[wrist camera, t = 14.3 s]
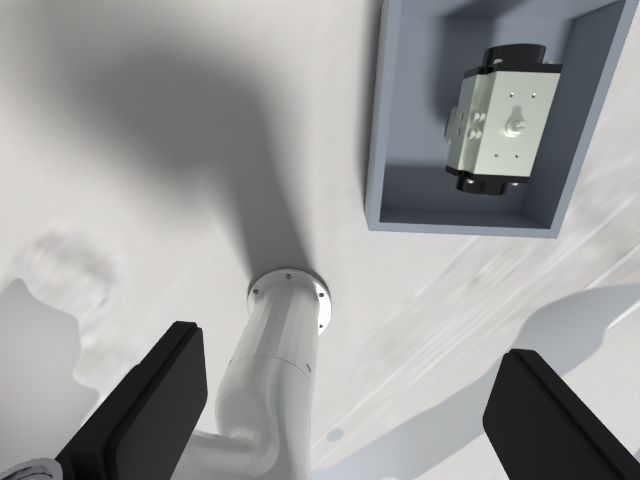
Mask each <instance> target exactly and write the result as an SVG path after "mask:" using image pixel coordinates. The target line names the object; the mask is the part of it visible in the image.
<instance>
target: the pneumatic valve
mask: <svg viewBox="0 0 640 480" xmlns="http://www.w3.org/2000/svg"><path fill="white" fill-rule="evenodd" d="M545 51H546V47H545V46H544V45H540V44H530V43H520V44H507V45H500V46H495V47H491V48H489V49H487V50H486V51H485V52H484V57H483V61H482V66H478V67H476V68H473V69H471V70H468V71H465V72H464V77H463V82H462V87H461V92H460V98H459V103H458V106H453V108H452V109H451V110H450V116H449V121H448V126H447V132H446V137H445V139H446V140H447V144H450V149H449V154H448V159H447V164H446V169H445V171H446V172H448V173H450V174H452V175H454V176H458V179H457V183H456V189H457V190H459V191H462V192H465V193H470V194H475V195H483V196H503V195H505V194H506V191H507V188H508V184H509V183H511V184H512V185H518V183H526V184H527V183H528V180H529V177H530V173H531V170H532V167H533V164H534V160H535V157H536V154H537V150H538V147H539V144H540V140H541V137H542V134H543V130H544V127H545V124H546V121H547V117H548V114H549V111H550V107H551V104H552V101H553V97H554V94H555V91H556V88H557V84H558V81H559V78H560V74H561V71H562V68H563V64H553V63H554V61H546V62H545V64H542V62H543V58H544V55H545Z"/></svg>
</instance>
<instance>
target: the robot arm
mask: <svg viewBox="0 0 640 480" xmlns="http://www.w3.org/2000/svg"><path fill="white" fill-rule="evenodd" d="M288 274H290V275H288ZM321 292H322V293H321ZM247 306H248V312H249V315H250V319H249V321H248V323H247V325H246V328H245V330H244V332H243V334H242V337H241V339H240V341H239V343H238V345H237V348H236V350H235V352H234V354H233V356H232V359H231V361H230V363H229V365H228V368H227V370H226V372H225V374H224V377H223V379H222V381H221V383H220V386H219V389H218V392H217V397H216V404H215V417H216V425H217V430H218V435H217V434H215V435H214V434H211V433H207V432H204V431H201V430H198V429H195V426H196V424H197V422H198V420H199V417H200V415H201V413H202V411H203V409H204V407H205V404H206V401H207V395H208V391H207V379H206V368H205V356H204V344H203V332H202V329H201V328H198V327H197V324H196V323H195V322H184V321H176V322H174V323H173V324H172V326H171V327H170V328H169V329H168V330H167V332H166V333H165V334H164V335H163V336H162V337H161V339H160V340H159V341H158V342H157V343H156V345H155V346H154V347H153V348H152V349H151V350H150V352H149V353H148V354H147V355H146V356H145V358H144V359H143V360H142V361H141V362H140V364H138V365H136V366H134V367H133V368H132V369H131V370H130V371H129V373H128V374H127V375H126V376H125V377H124V378H123V380H122V381H121V382H120V383H119V384H118V385H117V387H116V388H115V389H114V390H113V391H112V392H111V394H110V395H109V396H108V397H107V398H106V399H105V401H104V402H103V403H102V404H101V405H100V406H99V408H98V409H97V410H96V411H95V412H94V413H93V415H92V416H91V417H90V418H89V419H88V420H87V422H86V423H85V424H84V425H83V426H82V427H81V429H80V430H79V431H78V432H77V433H76V435H75V436H74V437H73V438H72V439H71V440H70V441H69V443H68V444H67V445H66V446H65V447H64V449H63V450H62V451H61V452H60V453H59V455H57V457H56V458H55V459H49V458H39V459H32V460H29V461H26V462H23V463H20V464H17V465H15V466H14V467H12V468H10V469H8V470H6V471H4V472H2V473H1V474H0V480H311V472H310V426H311V413H312V401H313V391H314V380H315V369H316V359H317V348H318V337H319V334H320V333H321V332H322V331H323V330H324V329H325V327H326V326H327V325H328V323H329V320H330V317H331V309H332V304H331V299H330V296H329V293H328V291H327V290H326V288H325V287H324V285H323V284H322V283H321V282H320V281H319V280H318V279H316V278H315V277H313V276H312V275H310V274H308V273H306V272H304V271H300V270H296V269H278V270H274V271H271V272H269V273H267V274H265V275H263V276H262V277H261V278H259V279H258V280H257V281H256V283H255V284H254V285H253V287H252V289H251V291H250V293H249V296H248V302H247ZM483 427H484V430H485V432H486V434H487V436H488V438H489V440H490V442H491V444H492V446H493V448H494V450H495V452H496V454H497V456H498V458H499V460H500V462H501V464H502V466H503V468H504V470H505V472H506V474H507V476H508V478H509V480H640V463H639V462H638V461H637V460H636V459H635V458H634V457H633V456H632V455H631V454H630V452H629V451H628V450H627V449H626V448H625V447H624V446H623V445H622V444H621V443H620V442H619V441H618V439H617V438H616V437H615V436H614V435H613V434H612V433H611V432H610V431H609V430H608V429H607V428H606V426H605V425H604V424H603V423H602V422H601V421H600V420H599V419H598V418H597V417H596V416H595V415H594V414H593V412H592V411H591V410H590V409H589V408H588V407H587V406H586V405H585V404H584V403H583V402H582V401H581V399H580V398H579V397H578V396H577V395H576V394H575V393H574V392H573V391H572V390H571V389H570V388H569V386H568V385H567V384H566V383H565V382H564V381H563V380H562V379H561V378H560V377H559V376H558V375H557V374H556V372H555V371H554V370H553V369H552V368H551V367H550V366H549V365H548V364H547V363H546V362H545V361H544V359H543V358H542V357H541V356H540V355H539V354H538V353H537V352H536V351H533V350H525V349H511V350H510V351H509V353H506V354H504V356H503V359H502V362H501V365H500V368H499V371H498V374H497V377H496V379H495V382H494V385H493V389H492V391H491V394H490V398H489V400H488V403H487V406H486V409H485V412H484V415H483Z"/></svg>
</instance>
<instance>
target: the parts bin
mask: <svg viewBox="0 0 640 480" xmlns="http://www.w3.org/2000/svg"><path fill="white" fill-rule="evenodd" d="M638 3H639V0H384V2H383V5H382V7H381V12H380V24H379V36H378V48H377V60H376V73H375V85H374V97H373V109H372V121H371V134H370V146H369V158H368V170H367V182H366V195H365V207H364V214H365V218H366V221H367V225H368V229H369V231H389V232H413V233H436V234H460V235H484V236H508V237H532V238H555V239H557V237H558V234H559V231H560V228H561V225H562V222H563V220H564V217H565V214H566V211H567V208H568V205H569V202H570V199H571V196H572V194H573V191H574V188H575V185H576V182H577V179H578V176H579V173H580V170H581V167H582V165H583V162H584V159H585V156H586V153H587V150H588V147H589V144H590V141H591V139H592V136H593V133H594V130H595V127H596V124H597V121H598V118H599V115H600V113H601V110H602V107H603V104H604V101H605V98H606V95H607V92H608V89H609V86H610V84H611V81H612V78H613V75H614V72H615V69H616V66H617V63H618V60H619V58H620V55H621V52H622V49H623V46H624V43H625V40H626V37H627V34H628V32H629V29H630V26H631V23H632V20H633V17H634V14H635V11H636V8H637V6H638ZM520 43H530V44H540V45H544V46H545V47H546V51H545V55H544V58H543V62H542V64H545V62H546V61H554V63H553V64H563V68H562V71H561V74H560V78H559V81H558V84H557V88H556V91H555V94H554V97H553V101H552V104H551V107H550V111H549V114H548V117H547V121H546V124H545V127H544V130H543V134H542V137H541V140H540V144H539V147H538V150H537V154H536V157H535V160H534V164H533V167H532V170H531V173H530V177H529V180H528V183H527V184H526V183H518V185H512V184H511V183H509V184H508V188H507V191H506V194H505V195H503V196H483V195H475V194H470V193H465V192H462V191H459V190H457V189H456V183H457V179H458V176H454V175H452V174H450V173H448V172H446V171H445V169H446V164H447V159H448V154H449V149H450V144H447V140H446V139H445V137H446V132H447V126H448V121H449V116H450V110H451V109H452V108H453V106H458V103H459V98H460V92H461V87H462V82H463V77H464V72H465V71H468V70H471V69H473V68H476V67H478V66H482V61H483V57H484V52H485V51H486V50H487V49H489V48H491V47H495V46H500V45H507V44H520Z"/></svg>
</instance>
